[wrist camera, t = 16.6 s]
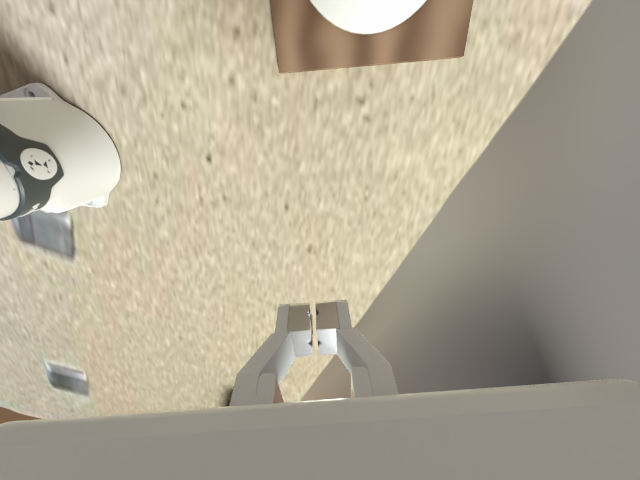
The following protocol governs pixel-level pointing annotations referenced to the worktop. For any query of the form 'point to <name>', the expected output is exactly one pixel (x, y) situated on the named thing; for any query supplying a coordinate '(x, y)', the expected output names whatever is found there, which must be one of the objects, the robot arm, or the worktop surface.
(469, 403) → the robot arm
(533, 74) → the worktop surface
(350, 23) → the dial
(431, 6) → the dial board
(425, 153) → the worktop surface
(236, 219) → the worktop surface
